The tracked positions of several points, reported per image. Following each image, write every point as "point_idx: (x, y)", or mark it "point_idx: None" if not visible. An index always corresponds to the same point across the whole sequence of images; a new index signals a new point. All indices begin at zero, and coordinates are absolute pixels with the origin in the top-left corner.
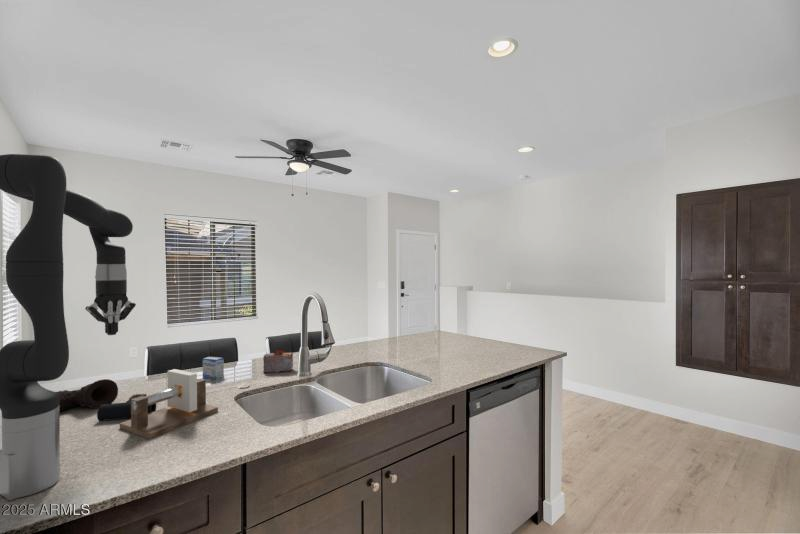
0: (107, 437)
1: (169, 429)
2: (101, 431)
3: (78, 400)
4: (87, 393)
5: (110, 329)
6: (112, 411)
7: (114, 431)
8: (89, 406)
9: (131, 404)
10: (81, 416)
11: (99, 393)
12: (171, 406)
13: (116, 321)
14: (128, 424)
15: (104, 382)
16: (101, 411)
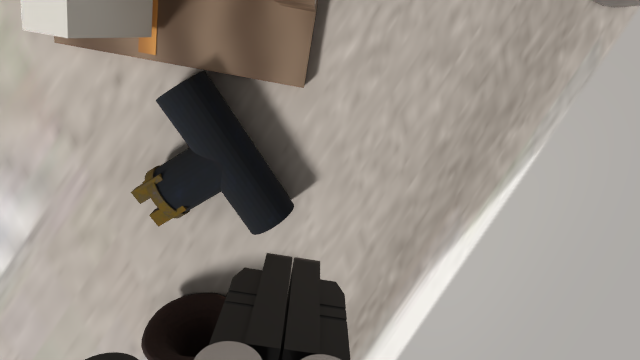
0: (363, 54)
1: None
2: (337, 118)
3: None
4: None
5: (317, 303)
6: (268, 174)
7: (326, 77)
8: None
9: (315, 2)
10: None
11: (187, 354)
12: (151, 9)
13: (240, 354)
14: (301, 46)
15: (176, 358)
16: (284, 203)
